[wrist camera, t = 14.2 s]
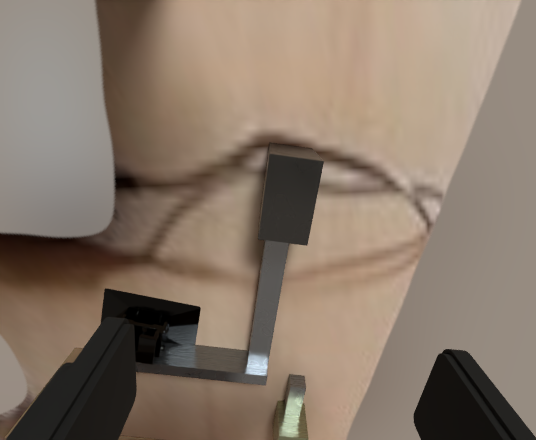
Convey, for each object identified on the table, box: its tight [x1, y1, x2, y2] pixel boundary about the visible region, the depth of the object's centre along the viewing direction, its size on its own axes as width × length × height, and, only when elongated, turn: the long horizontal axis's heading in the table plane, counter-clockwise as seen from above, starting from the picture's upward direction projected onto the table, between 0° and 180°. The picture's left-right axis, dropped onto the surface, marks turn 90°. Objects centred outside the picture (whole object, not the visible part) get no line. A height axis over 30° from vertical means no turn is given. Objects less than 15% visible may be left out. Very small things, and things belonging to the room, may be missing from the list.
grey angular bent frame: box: [136, 143, 324, 385], centre depth 27 cm, size 23×16×6 cm
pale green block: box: [273, 374, 308, 440], centre depth 34 cm, size 8×3×4 cm, turn 172°
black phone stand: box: [101, 289, 201, 365], centre depth 30 cm, size 12×7×5 cm, turn 77°
